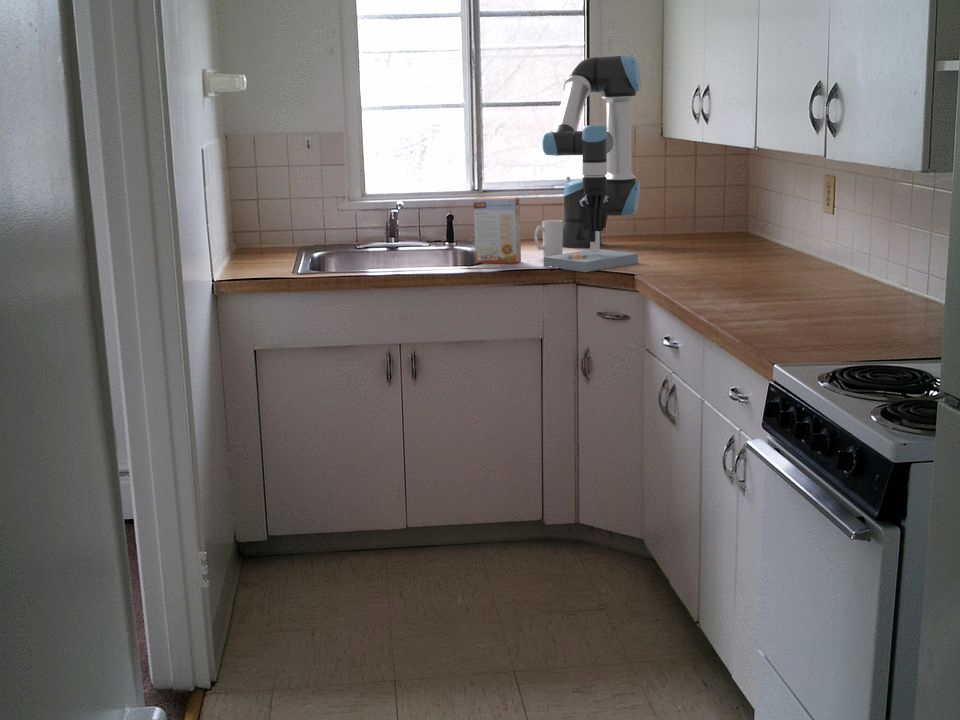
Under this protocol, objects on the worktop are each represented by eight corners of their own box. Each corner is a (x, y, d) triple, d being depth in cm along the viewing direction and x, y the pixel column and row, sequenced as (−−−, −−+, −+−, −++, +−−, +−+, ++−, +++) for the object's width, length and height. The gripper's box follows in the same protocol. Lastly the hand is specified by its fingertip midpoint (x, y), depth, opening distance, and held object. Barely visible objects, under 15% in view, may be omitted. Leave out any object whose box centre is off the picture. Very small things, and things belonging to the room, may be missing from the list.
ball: (578, 265, 328) (572, 254, 327) (588, 261, 325) (582, 250, 324) (572, 270, 325) (566, 259, 324) (582, 266, 322) (576, 255, 322)
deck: (595, 257, 343) (595, 248, 342) (637, 262, 329) (637, 253, 329) (543, 266, 327) (543, 257, 327) (585, 272, 314) (585, 262, 313)
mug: (557, 255, 351) (557, 219, 349) (566, 257, 345) (566, 221, 342) (530, 257, 348) (529, 221, 345) (539, 260, 342) (538, 223, 339)
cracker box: (521, 261, 339) (520, 196, 334) (516, 264, 334) (515, 198, 329) (480, 260, 344) (478, 196, 339) (474, 263, 338) (473, 198, 333)
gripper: (600, 174, 330) (600, 248, 336) (571, 177, 322) (571, 253, 328) (618, 175, 324) (617, 250, 330) (588, 178, 316) (589, 255, 322)
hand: (594, 251), depth 329 cm, fingers closed
